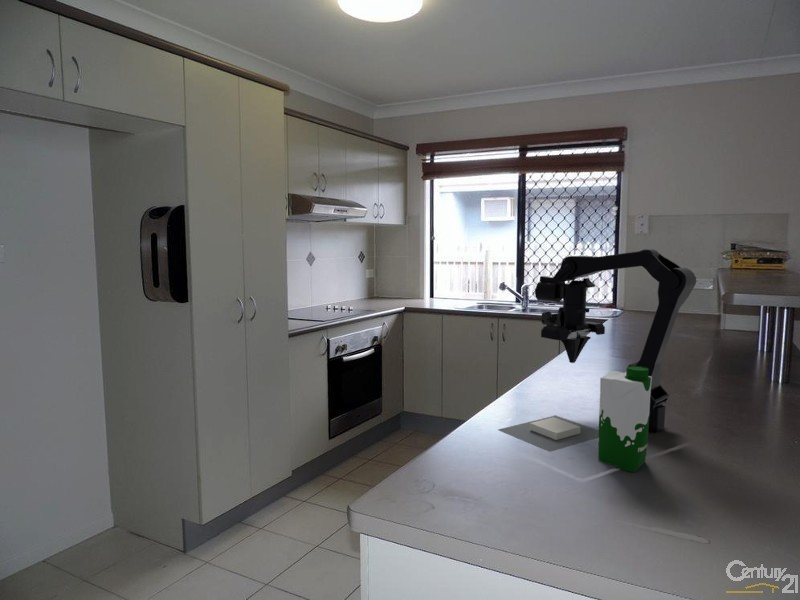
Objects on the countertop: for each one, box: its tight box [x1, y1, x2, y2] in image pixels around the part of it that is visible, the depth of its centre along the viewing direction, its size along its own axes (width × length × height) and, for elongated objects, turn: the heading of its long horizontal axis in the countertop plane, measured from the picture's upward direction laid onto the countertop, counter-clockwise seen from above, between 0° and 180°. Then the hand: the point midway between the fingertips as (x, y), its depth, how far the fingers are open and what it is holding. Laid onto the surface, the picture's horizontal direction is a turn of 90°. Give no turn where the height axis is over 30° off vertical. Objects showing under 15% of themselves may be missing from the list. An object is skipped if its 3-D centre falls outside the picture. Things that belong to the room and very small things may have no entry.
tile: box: [530, 417, 580, 440], centre depth 128 cm, size 8×2×8 cm
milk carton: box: [597, 365, 652, 473], centre depth 111 cm, size 9×9×20 cm
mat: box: [497, 415, 599, 453], centre depth 128 cm, size 16×20×1 cm
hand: (572, 362), depth 145 cm, fingers closed
